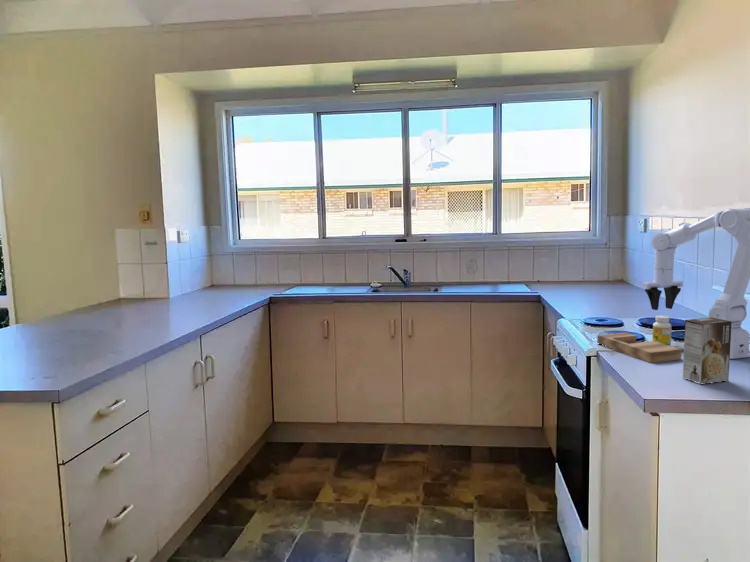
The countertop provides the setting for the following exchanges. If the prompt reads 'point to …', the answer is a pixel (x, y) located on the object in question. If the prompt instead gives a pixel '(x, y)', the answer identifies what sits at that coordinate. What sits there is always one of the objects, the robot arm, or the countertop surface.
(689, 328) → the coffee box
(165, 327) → the countertop surface
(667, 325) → the supplement bottle
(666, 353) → the board
